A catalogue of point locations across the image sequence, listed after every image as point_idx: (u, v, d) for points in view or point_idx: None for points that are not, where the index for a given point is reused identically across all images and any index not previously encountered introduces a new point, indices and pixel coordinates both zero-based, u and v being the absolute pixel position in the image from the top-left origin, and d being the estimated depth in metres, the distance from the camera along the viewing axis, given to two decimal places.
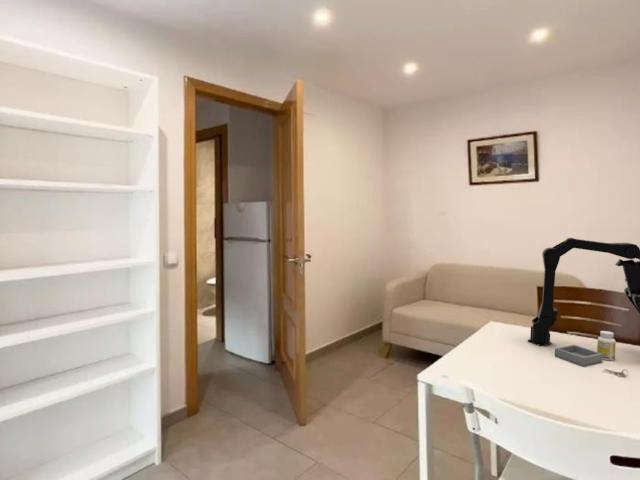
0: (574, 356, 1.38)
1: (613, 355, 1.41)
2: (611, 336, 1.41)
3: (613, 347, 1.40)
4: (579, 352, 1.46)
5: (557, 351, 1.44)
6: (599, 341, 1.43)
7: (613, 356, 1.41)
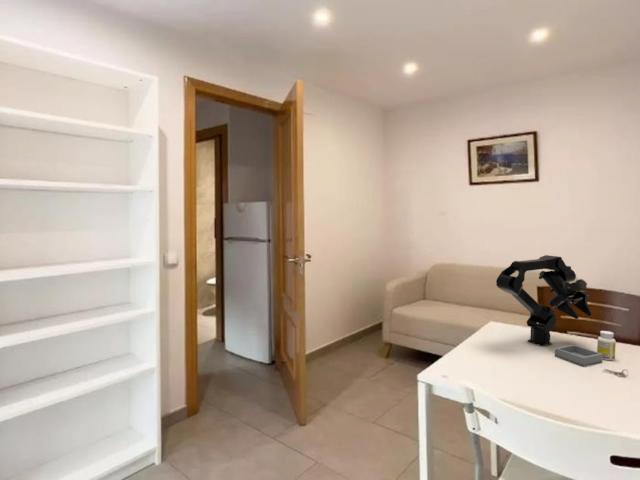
0: (574, 356, 1.38)
1: (613, 355, 1.41)
2: (611, 336, 1.41)
3: (613, 347, 1.40)
4: (579, 352, 1.46)
5: (557, 351, 1.44)
6: (599, 341, 1.43)
7: (613, 356, 1.41)
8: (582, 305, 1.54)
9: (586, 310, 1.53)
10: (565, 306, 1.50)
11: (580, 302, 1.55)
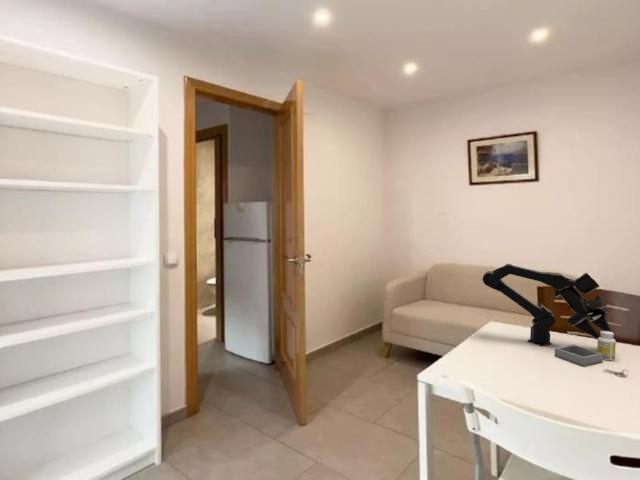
0: (574, 356, 1.38)
1: (613, 355, 1.41)
2: (611, 336, 1.41)
3: (613, 347, 1.40)
4: (579, 352, 1.46)
5: (557, 351, 1.44)
6: (599, 341, 1.43)
7: (613, 356, 1.41)
8: (601, 322, 1.49)
9: (606, 328, 1.47)
10: (585, 324, 1.44)
11: (599, 319, 1.49)
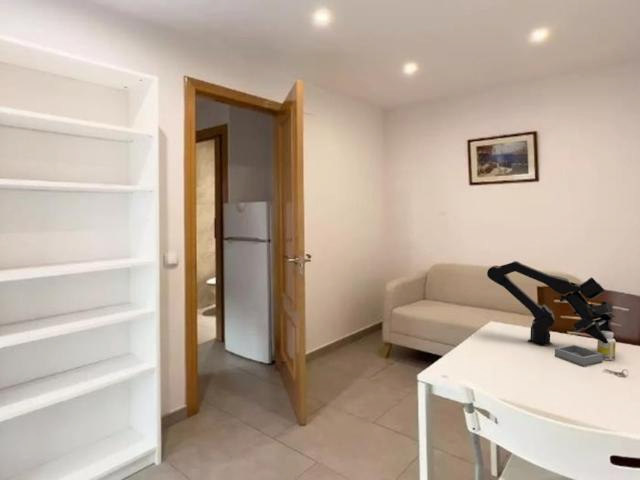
0: (574, 356, 1.38)
1: (613, 355, 1.41)
2: (611, 336, 1.41)
3: (613, 347, 1.40)
4: (579, 352, 1.46)
5: (557, 351, 1.44)
6: (599, 341, 1.43)
7: (613, 356, 1.41)
8: (605, 328, 1.46)
9: None
10: (593, 329, 1.43)
11: (603, 325, 1.47)
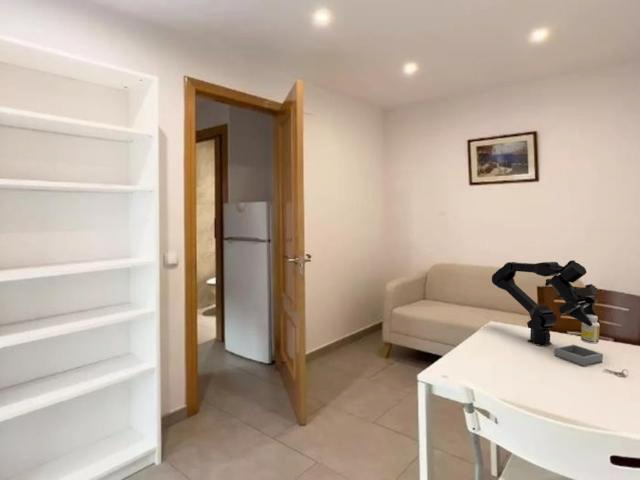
0: (574, 356, 1.38)
1: (597, 338, 1.40)
2: (595, 319, 1.40)
3: (597, 330, 1.39)
4: (579, 352, 1.46)
5: (557, 351, 1.44)
6: (583, 325, 1.42)
7: (597, 339, 1.40)
8: (589, 311, 1.45)
9: None
10: (578, 312, 1.42)
11: (587, 309, 1.46)
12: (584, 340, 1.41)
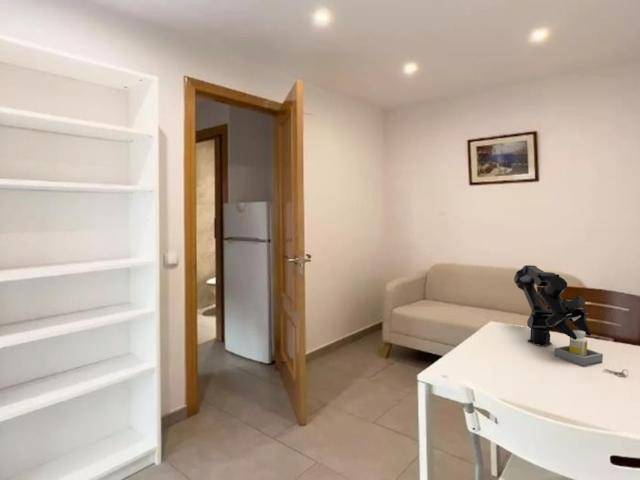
0: (574, 356, 1.38)
1: (585, 354, 1.39)
2: (583, 335, 1.39)
3: (585, 346, 1.39)
4: None
5: (557, 351, 1.44)
6: (571, 340, 1.41)
7: (585, 355, 1.39)
8: (580, 323, 1.45)
9: (585, 329, 1.43)
10: (563, 325, 1.40)
11: (579, 320, 1.46)
12: None
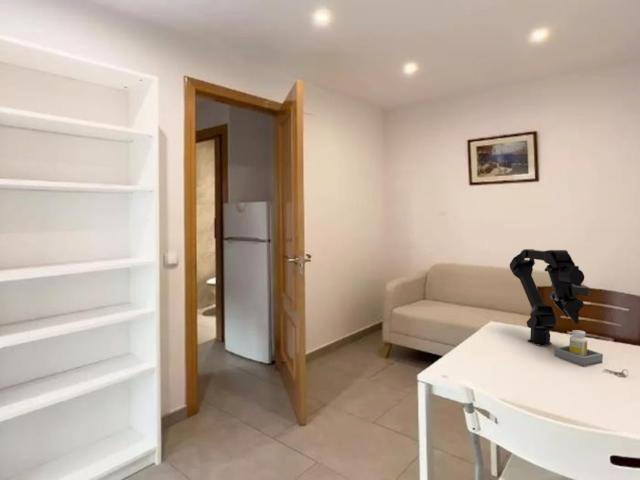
0: (574, 356, 1.38)
1: (585, 354, 1.39)
2: (583, 335, 1.39)
3: (585, 346, 1.39)
4: None
5: (557, 351, 1.44)
6: (571, 340, 1.41)
7: (585, 355, 1.39)
8: None
9: None
10: (573, 310, 1.43)
11: None
12: None
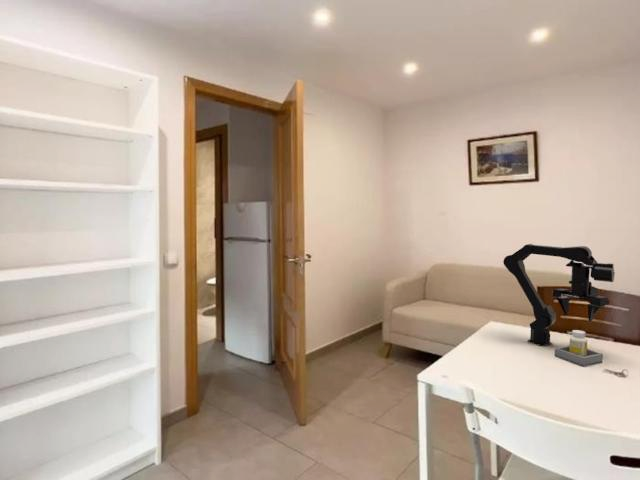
0: (574, 356, 1.38)
1: (585, 354, 1.39)
2: (583, 335, 1.39)
3: (585, 346, 1.39)
4: None
5: (557, 351, 1.44)
6: (571, 340, 1.41)
7: (585, 355, 1.39)
8: (565, 303, 1.54)
9: (567, 309, 1.53)
10: (594, 307, 1.44)
11: (566, 300, 1.54)
12: None
